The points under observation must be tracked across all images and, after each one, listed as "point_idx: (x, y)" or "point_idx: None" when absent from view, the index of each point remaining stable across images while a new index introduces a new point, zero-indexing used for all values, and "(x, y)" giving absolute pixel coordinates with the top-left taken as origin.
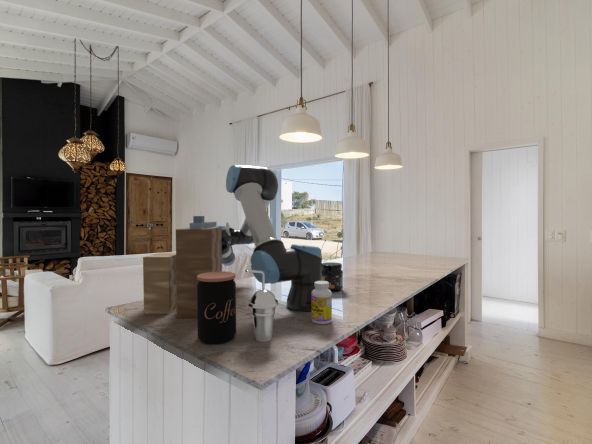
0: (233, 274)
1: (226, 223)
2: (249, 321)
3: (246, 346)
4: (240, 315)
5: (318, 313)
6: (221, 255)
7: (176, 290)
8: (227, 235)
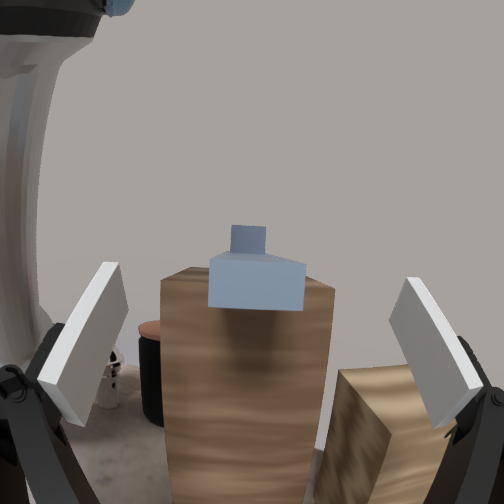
0: (141, 325)
1: (117, 270)
2: (113, 449)
3: (133, 396)
4: (126, 477)
5: None
6: (164, 413)
7: (335, 498)
8: (84, 493)
